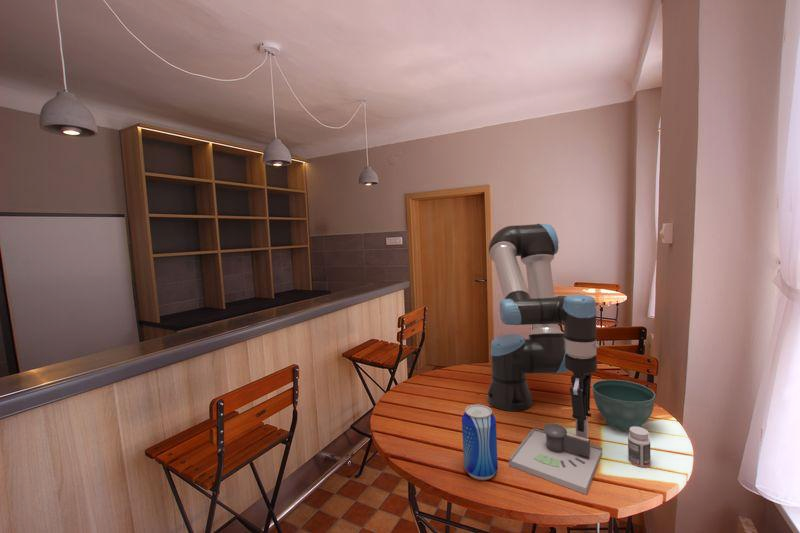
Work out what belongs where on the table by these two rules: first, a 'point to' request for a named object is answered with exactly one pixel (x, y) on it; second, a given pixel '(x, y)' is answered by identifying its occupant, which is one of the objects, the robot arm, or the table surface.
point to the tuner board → (564, 476)
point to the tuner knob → (565, 440)
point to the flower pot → (623, 403)
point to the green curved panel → (555, 460)
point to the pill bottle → (639, 447)
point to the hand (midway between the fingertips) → (582, 440)
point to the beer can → (479, 442)
